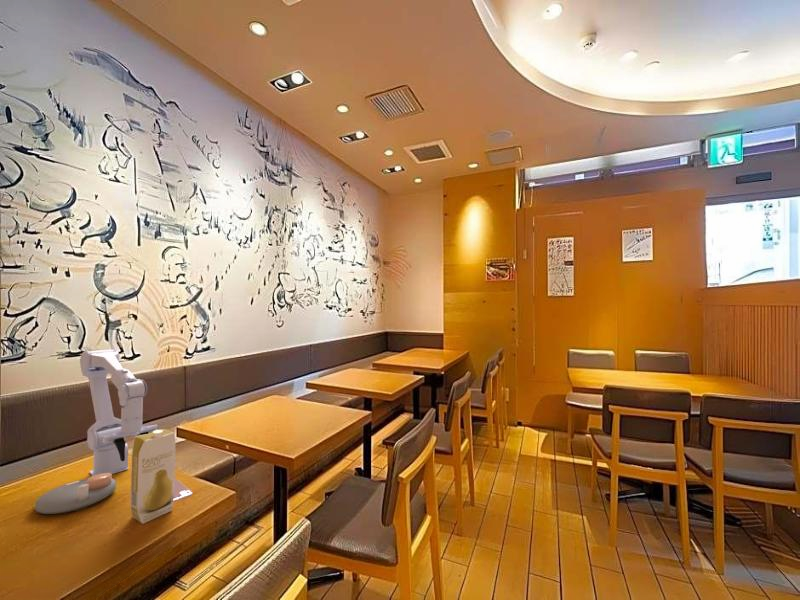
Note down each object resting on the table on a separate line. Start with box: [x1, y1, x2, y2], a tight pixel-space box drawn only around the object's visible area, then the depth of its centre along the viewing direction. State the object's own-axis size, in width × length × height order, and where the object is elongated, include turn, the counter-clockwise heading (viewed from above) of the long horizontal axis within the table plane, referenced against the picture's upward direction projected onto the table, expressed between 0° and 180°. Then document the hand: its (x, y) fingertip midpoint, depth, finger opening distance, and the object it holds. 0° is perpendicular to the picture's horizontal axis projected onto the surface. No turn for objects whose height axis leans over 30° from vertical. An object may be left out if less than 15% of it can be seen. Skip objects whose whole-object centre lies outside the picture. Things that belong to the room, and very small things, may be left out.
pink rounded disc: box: [86, 473, 113, 490], centre depth 109 cm, size 6×6×2 cm
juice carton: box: [130, 428, 176, 525], centre depth 99 cm, size 9×8×24 cm
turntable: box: [34, 478, 117, 515], centre depth 105 cm, size 18×18×5 cm
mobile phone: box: [173, 478, 193, 503], centre depth 111 cm, size 8×1×15 cm
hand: (130, 458), depth 116 cm, fingers open, 4 cm apart
